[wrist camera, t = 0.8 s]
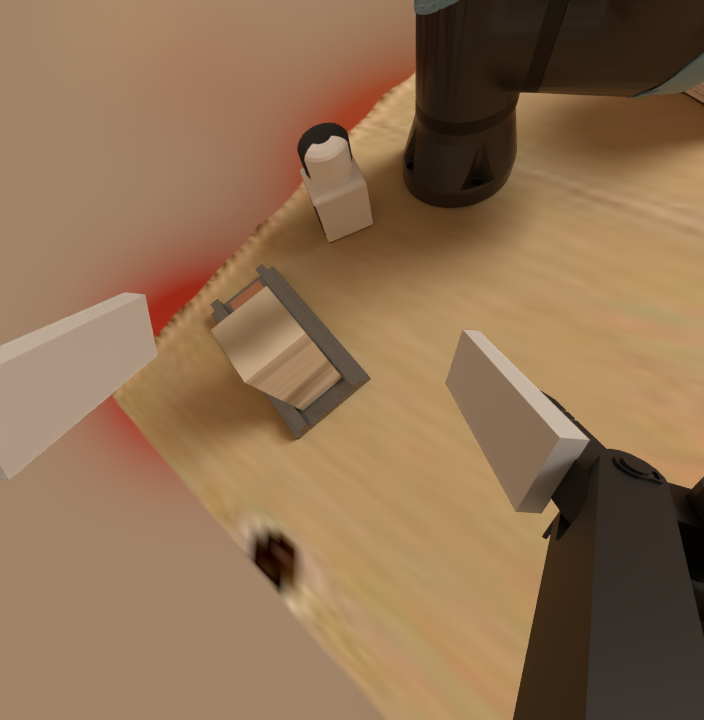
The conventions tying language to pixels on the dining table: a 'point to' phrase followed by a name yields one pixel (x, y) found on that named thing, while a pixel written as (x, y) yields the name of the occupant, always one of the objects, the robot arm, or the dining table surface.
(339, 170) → the medicine bottle
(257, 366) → the birch block
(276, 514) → the dining table surface
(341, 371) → the guide track
